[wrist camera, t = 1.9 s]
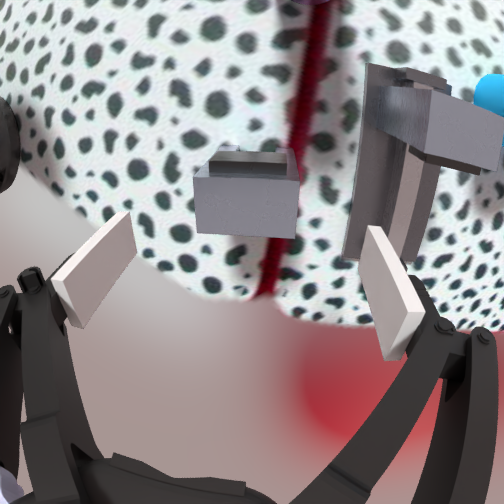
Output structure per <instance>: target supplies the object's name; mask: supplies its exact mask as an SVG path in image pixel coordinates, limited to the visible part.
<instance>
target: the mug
mask: <svg viewBox="0 0 504 504" xmlns="http://www.w3.org/2000/svg"><path fill="white" fill-rule="evenodd" d="M474 105H476V106H479V107H481V108H483V109H486V110H488V111H490V112H493V113H495V114H497V115H499V116H502V117H504V75H501V74H487V75H486V76H484V77H483V78H481V80H480V81H479V83H478V84H477V86H476V89H475V93H474ZM502 146H503V147H504V135H503V141H502Z"/></svg>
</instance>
